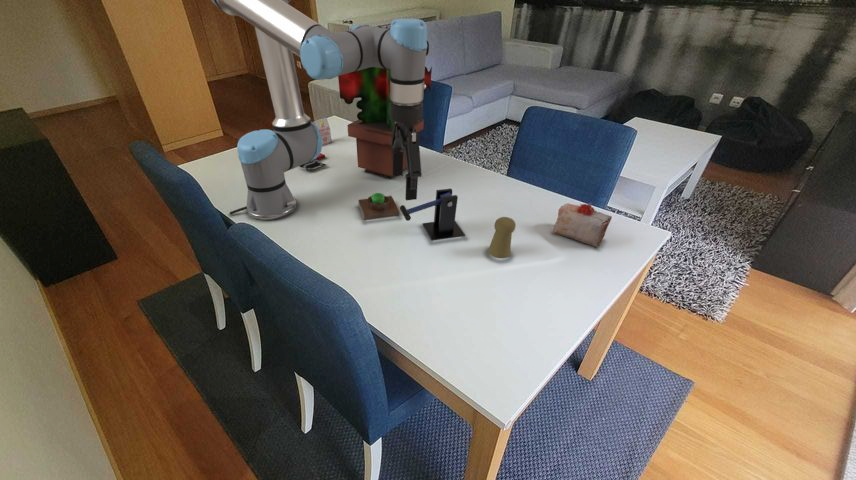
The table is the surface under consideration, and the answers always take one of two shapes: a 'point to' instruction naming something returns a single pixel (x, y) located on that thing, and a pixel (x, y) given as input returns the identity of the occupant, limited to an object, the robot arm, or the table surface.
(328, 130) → the white cardboard box
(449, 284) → the table surface
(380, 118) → the potted plant
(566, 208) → the food item
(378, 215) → the switch block
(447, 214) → the lever bracket
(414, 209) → the lever
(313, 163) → the red board with handle
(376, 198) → the green button
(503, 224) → the tan pawn
